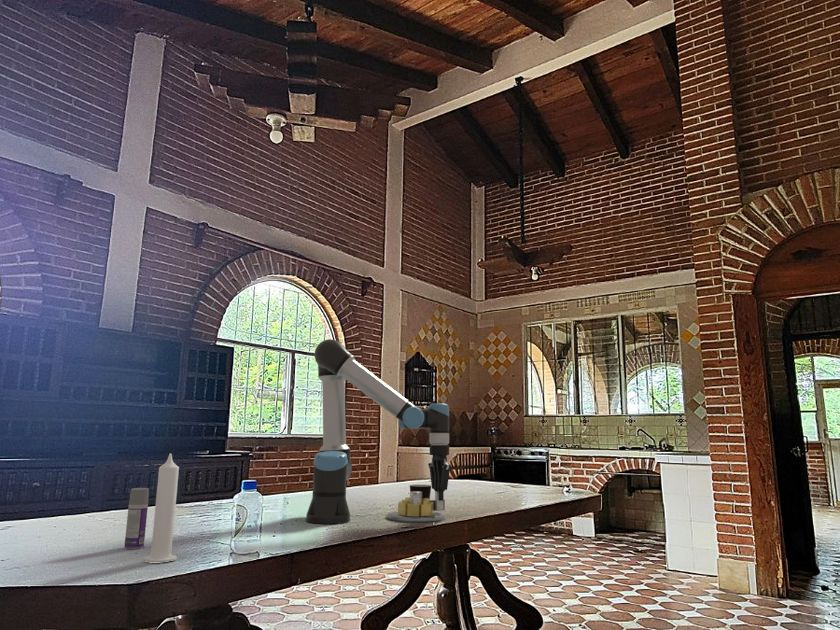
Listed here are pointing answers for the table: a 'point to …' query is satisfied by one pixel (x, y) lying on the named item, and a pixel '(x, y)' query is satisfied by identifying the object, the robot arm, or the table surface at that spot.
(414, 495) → the flange plate
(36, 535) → the table surface
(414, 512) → the toy block cluster
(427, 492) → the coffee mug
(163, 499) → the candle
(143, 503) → the container
